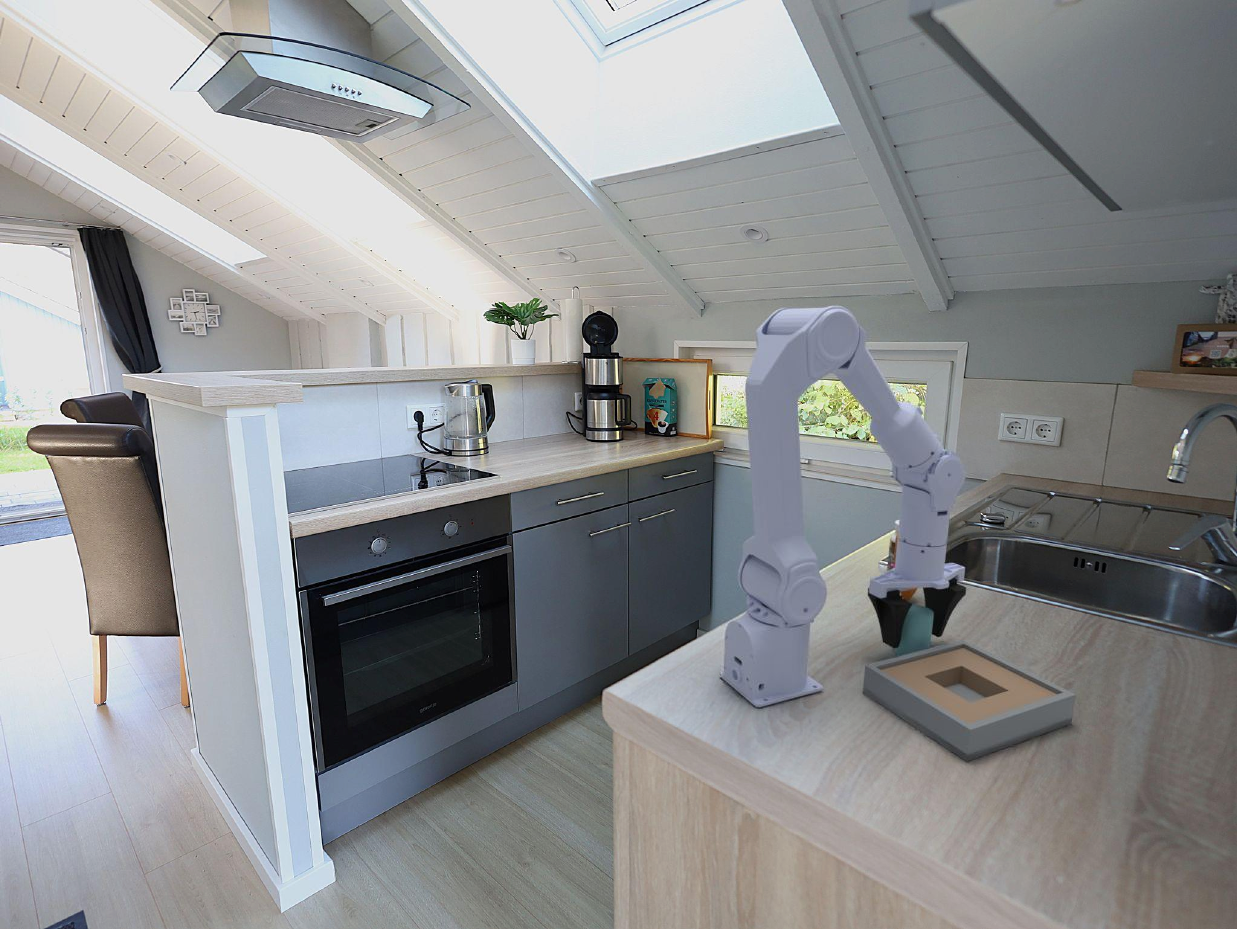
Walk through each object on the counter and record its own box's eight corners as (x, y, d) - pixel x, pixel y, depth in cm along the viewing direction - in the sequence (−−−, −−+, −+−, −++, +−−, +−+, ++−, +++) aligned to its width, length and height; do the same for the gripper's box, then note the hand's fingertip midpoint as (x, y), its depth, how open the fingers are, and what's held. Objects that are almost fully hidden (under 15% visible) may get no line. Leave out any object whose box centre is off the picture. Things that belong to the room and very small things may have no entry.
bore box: (966, 761, 66) (970, 729, 66) (862, 692, 79) (865, 665, 78) (1071, 723, 73) (1075, 694, 72) (959, 665, 85) (962, 639, 85)
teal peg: (911, 663, 86) (916, 619, 85) (885, 649, 90) (889, 606, 88) (936, 657, 87) (941, 614, 86) (910, 642, 91) (914, 601, 90)
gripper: (904, 557, 79) (894, 663, 82) (990, 541, 85) (978, 641, 87) (860, 540, 85) (852, 639, 88) (943, 526, 91) (933, 620, 94)
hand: (912, 639), depth 88 cm, fingers open, 7 cm apart
